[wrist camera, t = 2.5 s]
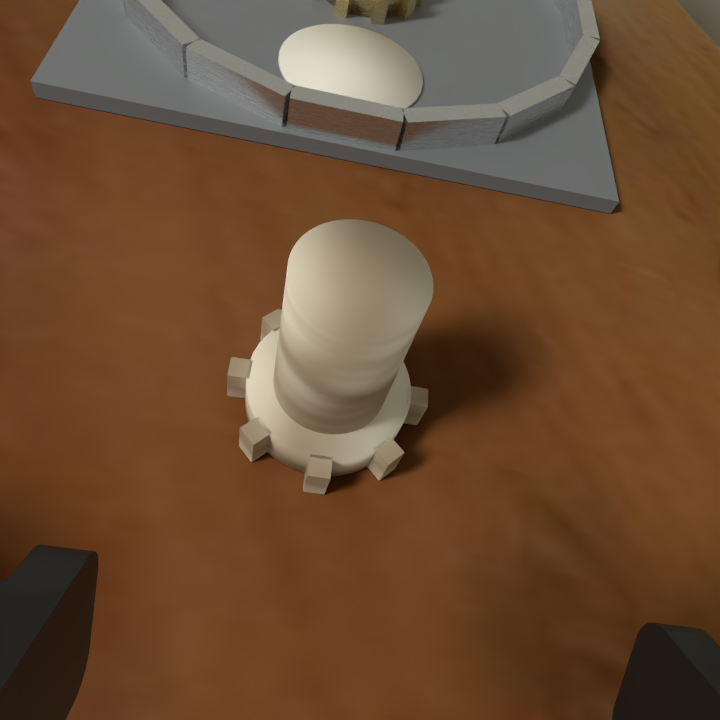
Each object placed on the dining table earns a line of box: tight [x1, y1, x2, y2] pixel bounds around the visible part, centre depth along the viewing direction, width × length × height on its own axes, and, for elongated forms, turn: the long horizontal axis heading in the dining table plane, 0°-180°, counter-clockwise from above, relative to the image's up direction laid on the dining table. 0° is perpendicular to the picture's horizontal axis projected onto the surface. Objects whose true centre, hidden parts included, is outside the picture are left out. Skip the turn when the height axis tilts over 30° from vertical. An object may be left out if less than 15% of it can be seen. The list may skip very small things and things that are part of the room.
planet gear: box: [227, 219, 433, 494], centre depth 24 cm, size 8×8×9 cm
